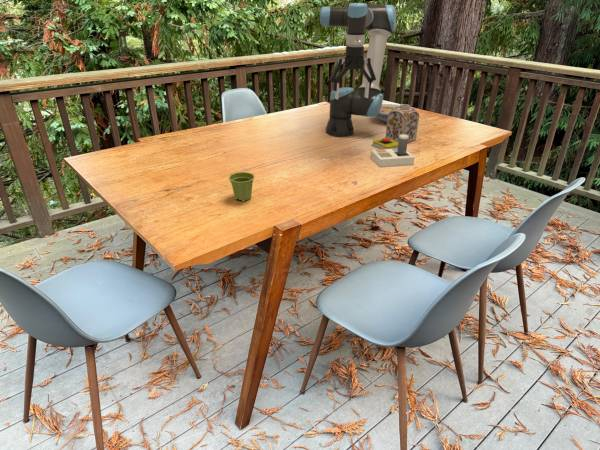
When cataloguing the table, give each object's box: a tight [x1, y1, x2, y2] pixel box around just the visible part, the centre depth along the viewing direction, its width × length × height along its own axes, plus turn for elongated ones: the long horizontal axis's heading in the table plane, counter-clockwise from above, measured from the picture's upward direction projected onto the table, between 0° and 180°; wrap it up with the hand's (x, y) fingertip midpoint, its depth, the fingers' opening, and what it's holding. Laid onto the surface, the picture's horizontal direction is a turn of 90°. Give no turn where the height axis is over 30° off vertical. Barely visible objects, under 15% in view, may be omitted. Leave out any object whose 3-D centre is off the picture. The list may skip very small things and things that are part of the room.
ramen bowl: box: [375, 103, 402, 124], centre depth 242 cm, size 25×23×8 cm
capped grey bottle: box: [397, 134, 409, 156], centre depth 187 cm, size 4×4×12 cm
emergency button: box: [370, 137, 398, 150], centre depth 204 cm, size 9×4×15 cm
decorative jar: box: [384, 103, 420, 144], centre depth 211 cm, size 12×12×18 cm
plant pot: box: [228, 171, 256, 201], centre depth 154 cm, size 9×9×9 cm
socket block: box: [370, 148, 416, 168], centre depth 189 cm, size 12×16×4 cm
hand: (351, 98), depth 182 cm, fingers open, 13 cm apart
